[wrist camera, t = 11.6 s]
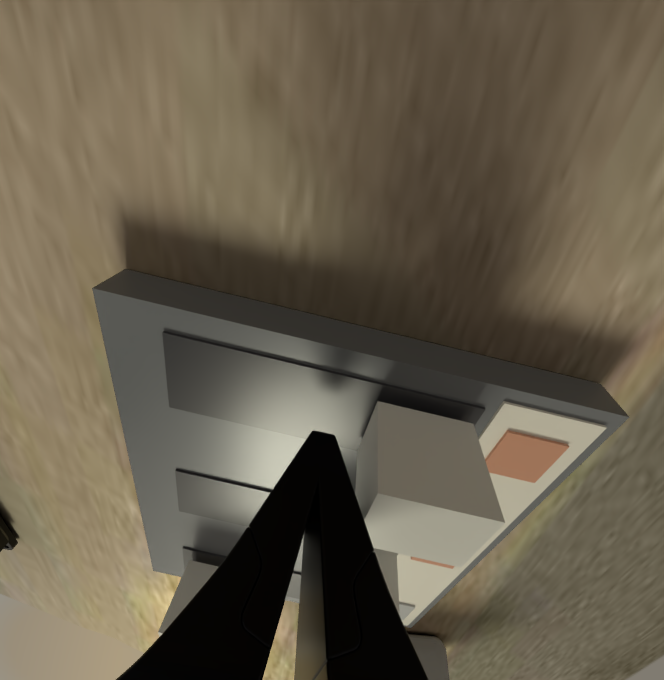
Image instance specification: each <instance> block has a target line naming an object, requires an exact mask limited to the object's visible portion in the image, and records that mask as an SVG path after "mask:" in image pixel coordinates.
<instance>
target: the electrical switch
mask: <svg viewBox="0 0 664 680" xmlns="http://www.w3.org/2000/svg"><path fill="white" fill-rule="evenodd" d="M408 635H409V638H410V640H411V642H412V644H413V646H414V649H415V651H416V653H417V655H418V657H419V660H420V662H421V664H422V666H423V668H424V671H425V673H426V675H427V677H428V679H429V680H449V672H448V663H447V654H446V648H445V646H444V644H443V643H442V641H441V640H440V639H439V638H438V637H435V636H428V635H417V634H408Z"/></svg>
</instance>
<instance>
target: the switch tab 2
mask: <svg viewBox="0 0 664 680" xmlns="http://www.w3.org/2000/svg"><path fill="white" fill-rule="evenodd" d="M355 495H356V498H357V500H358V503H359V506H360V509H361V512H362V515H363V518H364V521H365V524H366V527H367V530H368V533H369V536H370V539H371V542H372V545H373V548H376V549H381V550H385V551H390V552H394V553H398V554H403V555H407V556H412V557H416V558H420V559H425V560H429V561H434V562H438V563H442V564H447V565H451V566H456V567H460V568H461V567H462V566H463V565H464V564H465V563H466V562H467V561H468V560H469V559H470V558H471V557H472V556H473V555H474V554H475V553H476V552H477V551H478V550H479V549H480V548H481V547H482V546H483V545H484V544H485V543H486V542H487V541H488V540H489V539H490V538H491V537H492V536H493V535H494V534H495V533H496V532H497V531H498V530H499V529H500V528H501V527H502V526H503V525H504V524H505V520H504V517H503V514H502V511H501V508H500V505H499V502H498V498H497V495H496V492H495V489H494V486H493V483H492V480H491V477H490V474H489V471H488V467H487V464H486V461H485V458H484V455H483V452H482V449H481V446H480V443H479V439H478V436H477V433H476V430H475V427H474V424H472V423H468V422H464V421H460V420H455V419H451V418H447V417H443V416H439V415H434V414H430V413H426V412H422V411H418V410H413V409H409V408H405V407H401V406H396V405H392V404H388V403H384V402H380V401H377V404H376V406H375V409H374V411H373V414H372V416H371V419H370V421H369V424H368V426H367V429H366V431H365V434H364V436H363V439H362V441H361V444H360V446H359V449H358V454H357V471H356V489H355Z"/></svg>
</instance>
